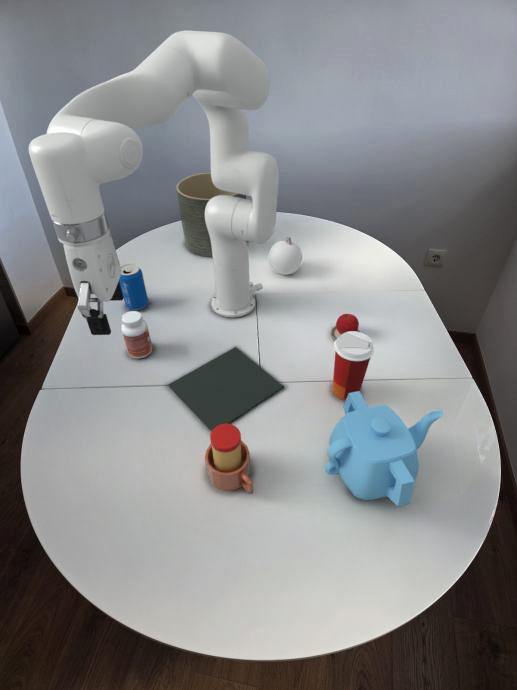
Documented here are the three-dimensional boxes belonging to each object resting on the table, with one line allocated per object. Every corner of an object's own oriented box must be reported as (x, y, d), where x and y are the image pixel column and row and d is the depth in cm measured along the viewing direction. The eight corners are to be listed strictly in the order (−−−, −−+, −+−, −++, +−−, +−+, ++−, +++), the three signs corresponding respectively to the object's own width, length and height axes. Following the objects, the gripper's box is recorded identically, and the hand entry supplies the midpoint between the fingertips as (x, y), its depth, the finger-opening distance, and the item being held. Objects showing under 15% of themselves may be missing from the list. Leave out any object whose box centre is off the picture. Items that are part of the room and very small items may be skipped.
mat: (235, 348, 110) (235, 346, 109) (283, 387, 100) (283, 386, 99) (168, 386, 100) (168, 384, 100) (214, 434, 90) (213, 432, 90)
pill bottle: (156, 353, 108) (148, 318, 101) (133, 362, 106) (123, 328, 99) (147, 339, 112) (138, 305, 105) (124, 348, 110) (114, 314, 102)
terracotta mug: (199, 469, 84) (196, 453, 80) (232, 446, 88) (231, 429, 84) (234, 511, 77) (233, 495, 74) (268, 484, 81) (269, 468, 78)
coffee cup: (366, 382, 101) (377, 334, 90) (360, 408, 95) (372, 359, 85) (331, 374, 103) (338, 326, 93) (323, 399, 97) (330, 350, 87)
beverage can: (121, 308, 122) (111, 272, 114) (134, 296, 127) (125, 260, 119) (140, 314, 121) (131, 277, 113) (153, 301, 125) (145, 265, 117)
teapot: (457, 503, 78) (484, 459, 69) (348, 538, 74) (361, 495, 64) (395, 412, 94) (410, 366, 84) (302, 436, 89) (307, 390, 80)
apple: (325, 339, 112) (328, 319, 108) (336, 322, 117) (339, 303, 113) (355, 349, 109) (359, 329, 105) (364, 331, 114) (368, 311, 110)
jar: (231, 453, 86) (228, 418, 79) (248, 471, 83) (247, 437, 76) (209, 468, 83) (204, 434, 76) (226, 488, 80) (222, 454, 73)
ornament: (306, 269, 137) (309, 234, 129) (290, 284, 131) (292, 249, 123) (278, 260, 142) (280, 226, 134) (262, 274, 135) (262, 240, 127)
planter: (246, 226, 160) (244, 171, 146) (248, 257, 143) (247, 198, 130) (186, 228, 159) (179, 173, 145) (182, 259, 142) (173, 200, 129)
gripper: (91, 254, 58) (119, 348, 69) (119, 200, 71) (139, 287, 82) (35, 255, 58) (72, 349, 69) (73, 201, 71) (99, 288, 82)
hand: (108, 315), depth 76 cm, fingers open, 9 cm apart
